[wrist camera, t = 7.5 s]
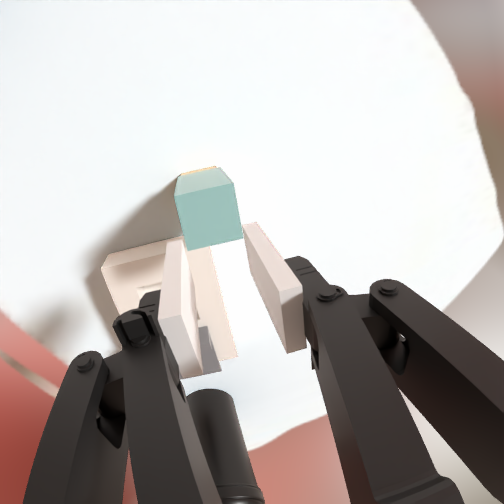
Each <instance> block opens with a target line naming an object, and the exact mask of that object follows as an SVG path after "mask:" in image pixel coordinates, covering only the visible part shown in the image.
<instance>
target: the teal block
mask: <svg viewBox="0 0 504 504" xmlns="http://www.w3.org/2000/svg"><path fill="white" fill-rule="evenodd" d="M174 199H175V203H176V207H177V212H178V216H179V220H180V224H181V227H182V231H183V235H184V239H185V243H186V247H187V250H188V251H191V250H195V249H199V248H204V247H208V246H212V245H216V244H221V243H225V242H229V241H234V240H238V239H242V238H243V233H242V227H241V222H240V216H239V211H238V205H237V200H236V195H235V189H234V184H233V182H232V181H231V179H230V178H229V177H228V176H227V175H226V173H225V172H224V171H223V170H222V169H221V168H220V167H218V168H217V167H216V166H213V167H208V168H204V169H199V170H195V171H190V172H186V173H182V174H181V176H178V179H177V183H176V188H175V193H174Z"/></svg>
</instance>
